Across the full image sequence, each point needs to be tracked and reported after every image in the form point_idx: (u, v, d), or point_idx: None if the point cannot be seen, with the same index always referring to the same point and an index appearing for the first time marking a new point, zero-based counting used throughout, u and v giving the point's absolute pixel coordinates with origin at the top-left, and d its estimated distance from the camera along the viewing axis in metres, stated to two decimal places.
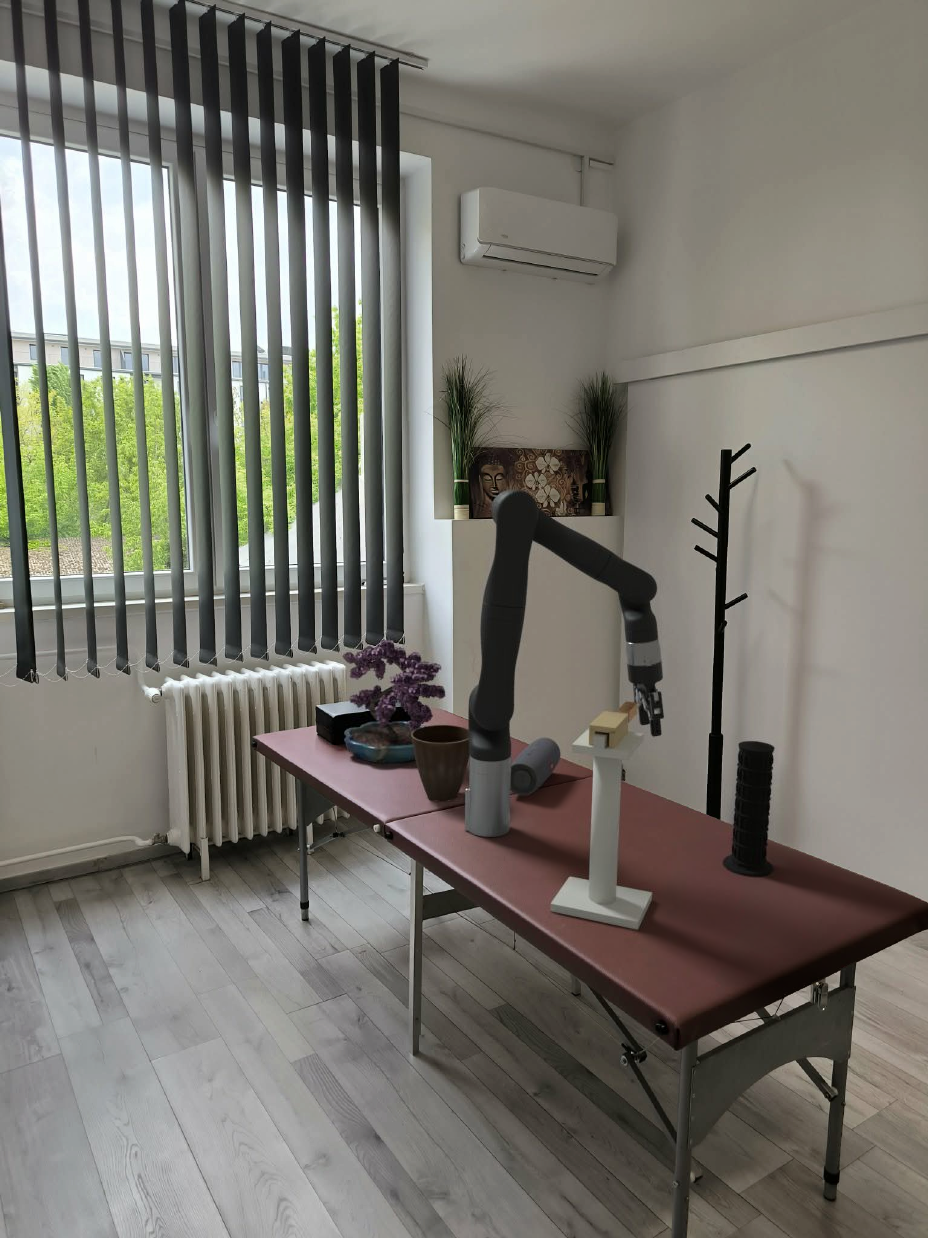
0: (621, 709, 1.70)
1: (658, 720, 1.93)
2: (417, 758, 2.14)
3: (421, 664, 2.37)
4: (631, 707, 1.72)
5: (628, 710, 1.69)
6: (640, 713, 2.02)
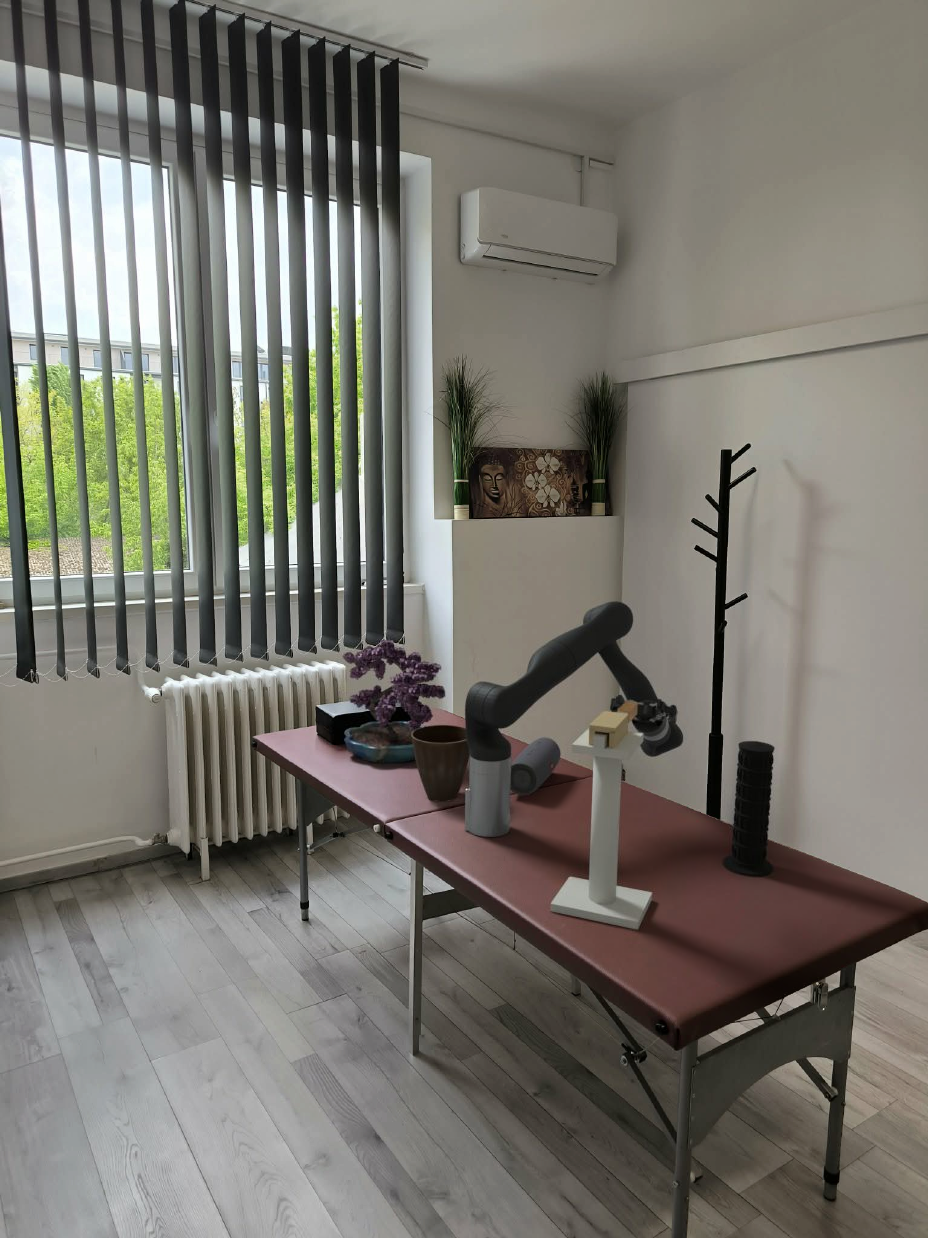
0: (621, 709, 1.70)
1: (666, 710, 1.92)
2: (417, 758, 2.14)
3: (421, 664, 2.37)
4: (631, 707, 1.72)
5: (628, 710, 1.69)
6: (623, 699, 1.95)
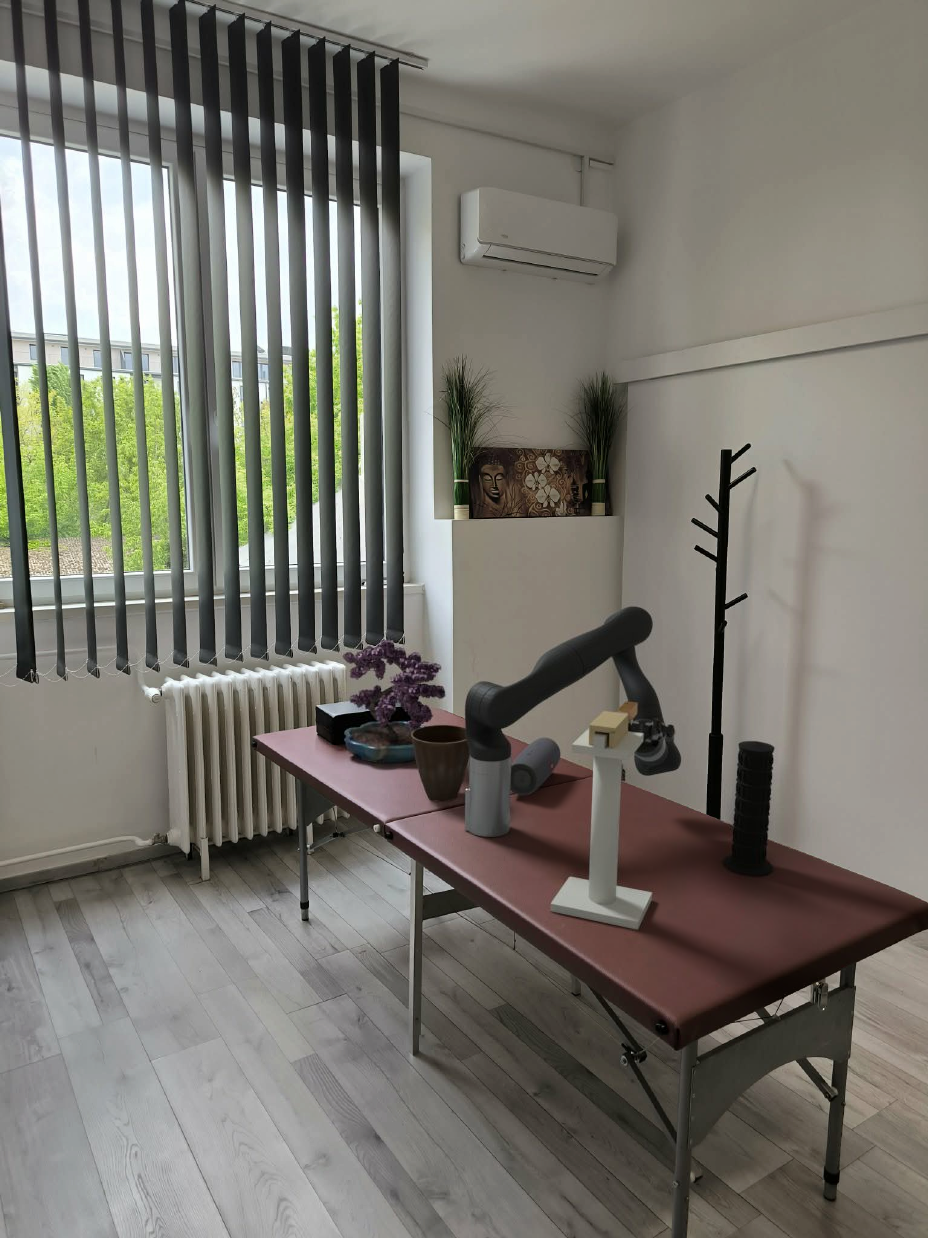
0: (621, 709, 1.70)
1: (663, 731, 1.80)
2: (417, 758, 2.14)
3: (421, 664, 2.37)
4: (631, 707, 1.72)
5: (628, 710, 1.69)
6: None
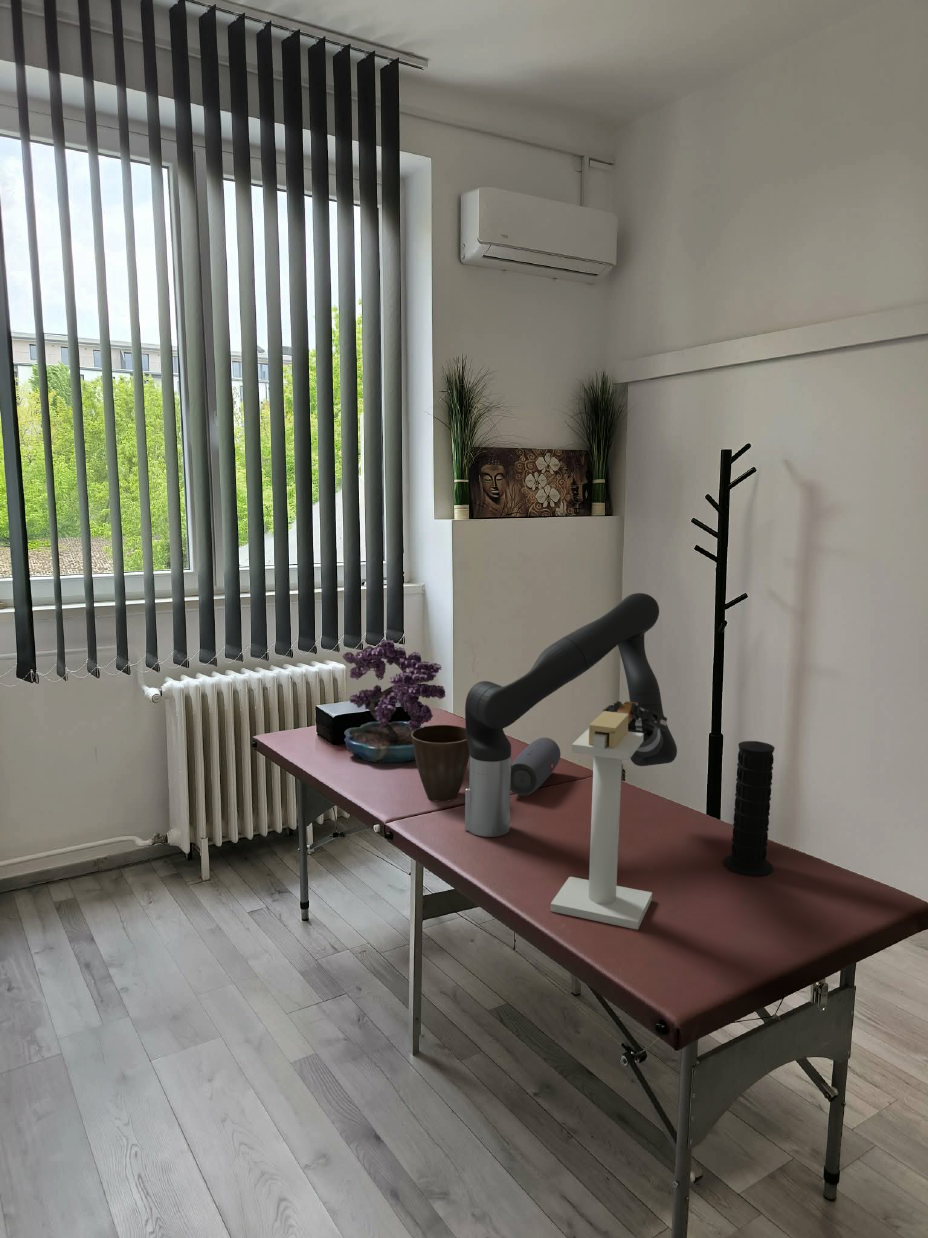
0: (621, 709, 1.70)
1: (641, 716, 1.73)
2: (417, 758, 2.14)
3: (421, 664, 2.37)
4: None
5: (628, 710, 1.69)
6: None
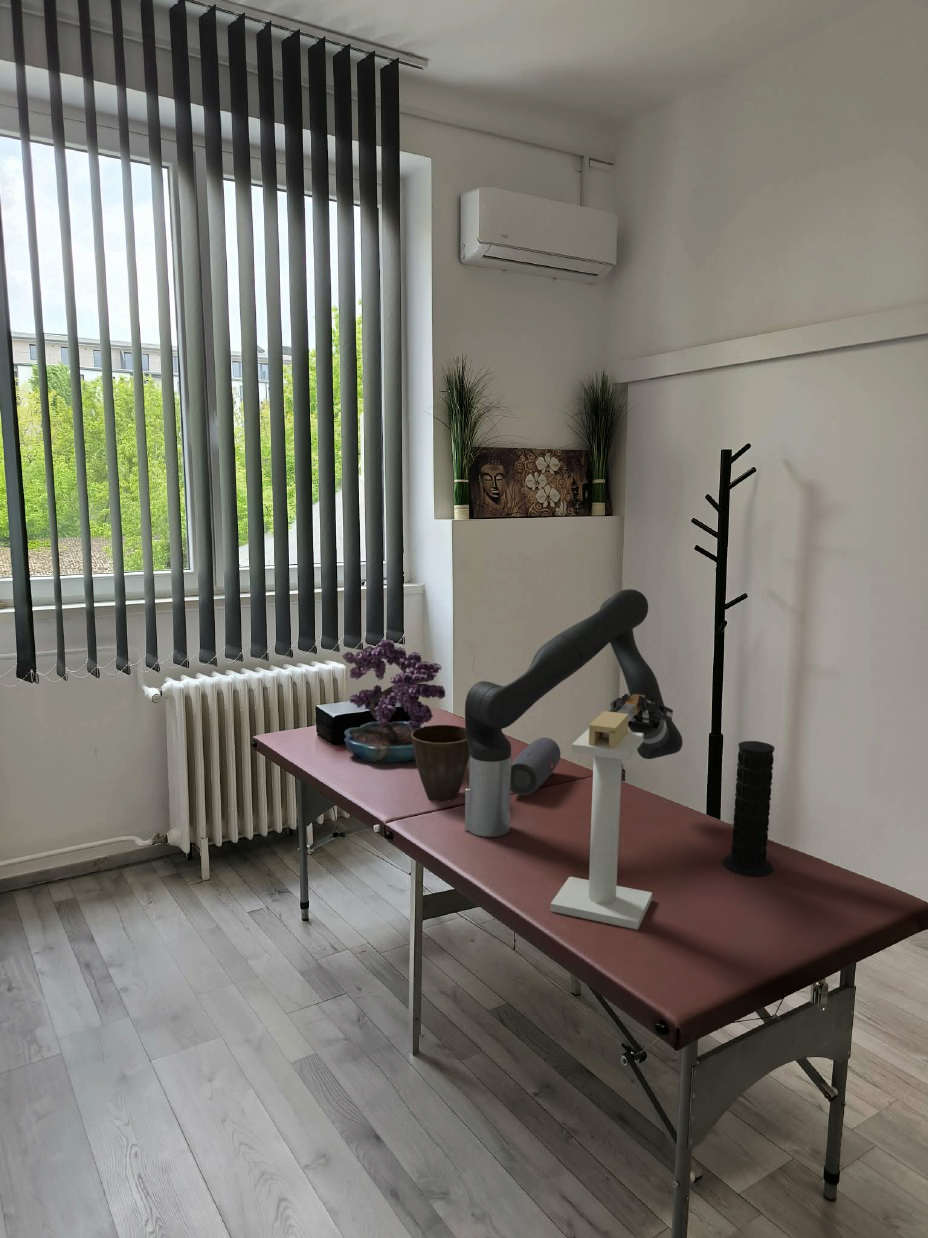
0: (629, 701, 1.76)
1: (648, 708, 1.78)
2: (417, 758, 2.14)
3: (421, 664, 2.37)
4: None
5: (635, 702, 1.75)
6: None
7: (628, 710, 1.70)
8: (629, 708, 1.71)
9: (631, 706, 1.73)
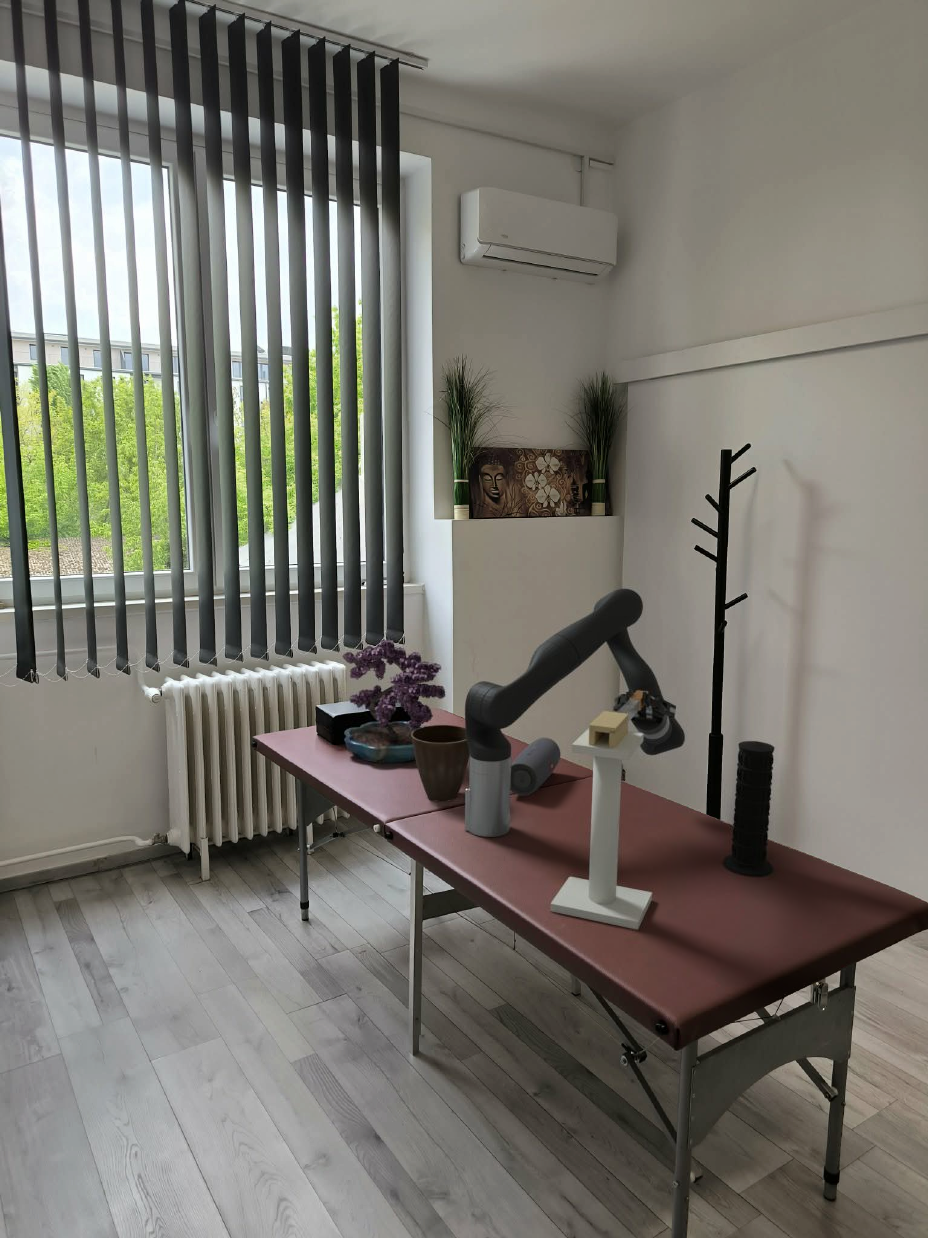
0: (633, 697, 1.79)
1: (652, 704, 1.82)
2: (417, 758, 2.14)
3: (421, 664, 2.37)
4: None
5: (639, 698, 1.78)
6: None
7: (632, 706, 1.73)
8: (633, 704, 1.75)
9: (635, 702, 1.76)
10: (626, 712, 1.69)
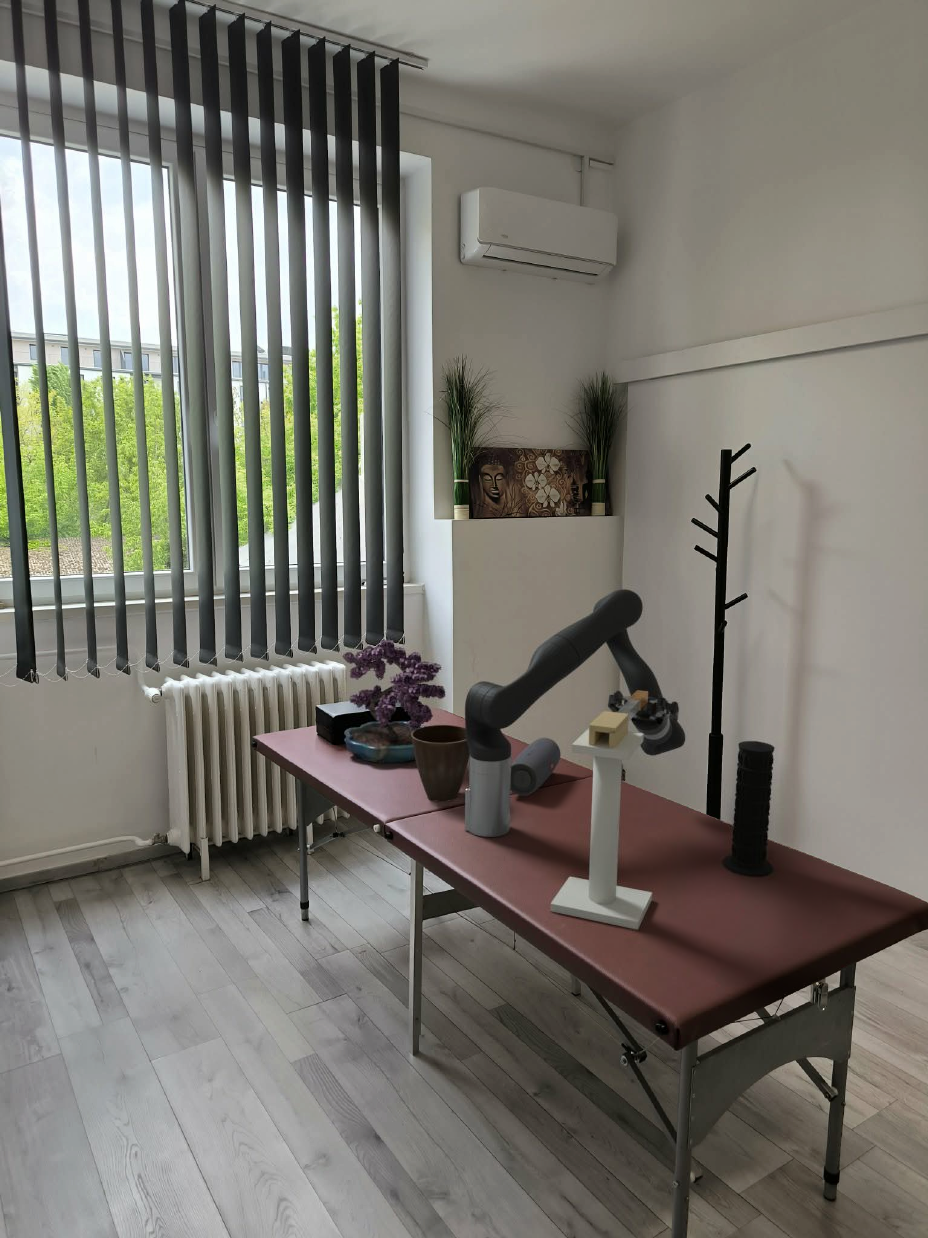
0: (633, 697, 1.79)
1: (667, 707, 1.82)
2: (417, 758, 2.14)
3: (421, 664, 2.37)
4: (642, 695, 1.81)
5: (639, 698, 1.79)
6: (622, 695, 1.85)
7: (632, 705, 1.73)
8: (633, 704, 1.75)
9: (635, 702, 1.76)
10: (626, 712, 1.69)
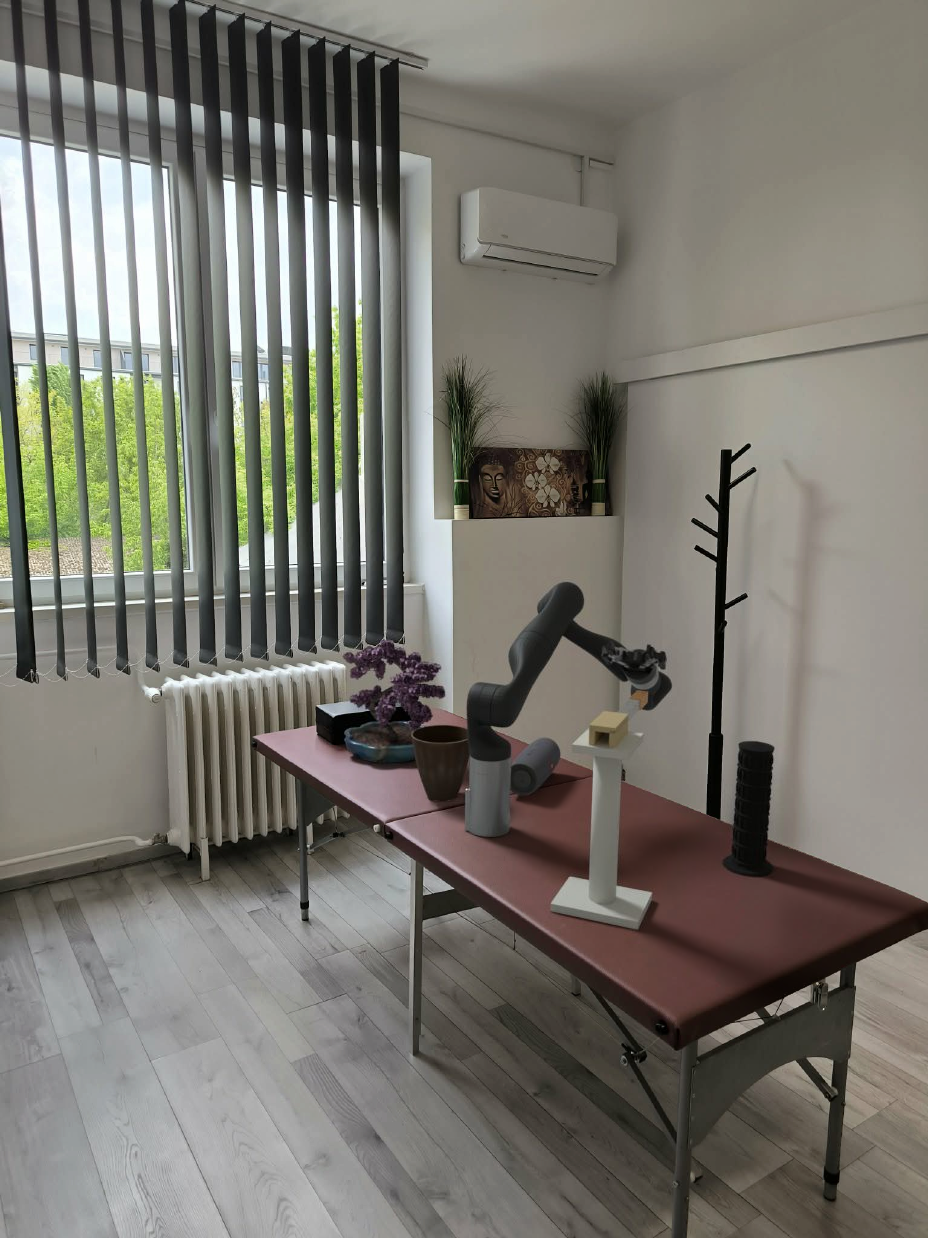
0: (633, 697, 1.79)
1: (655, 656, 1.98)
2: (417, 758, 2.14)
3: (421, 664, 2.37)
4: (642, 695, 1.81)
5: (639, 698, 1.79)
6: (614, 646, 2.01)
7: (632, 705, 1.73)
8: (633, 704, 1.75)
9: (635, 702, 1.76)
10: (626, 712, 1.69)
